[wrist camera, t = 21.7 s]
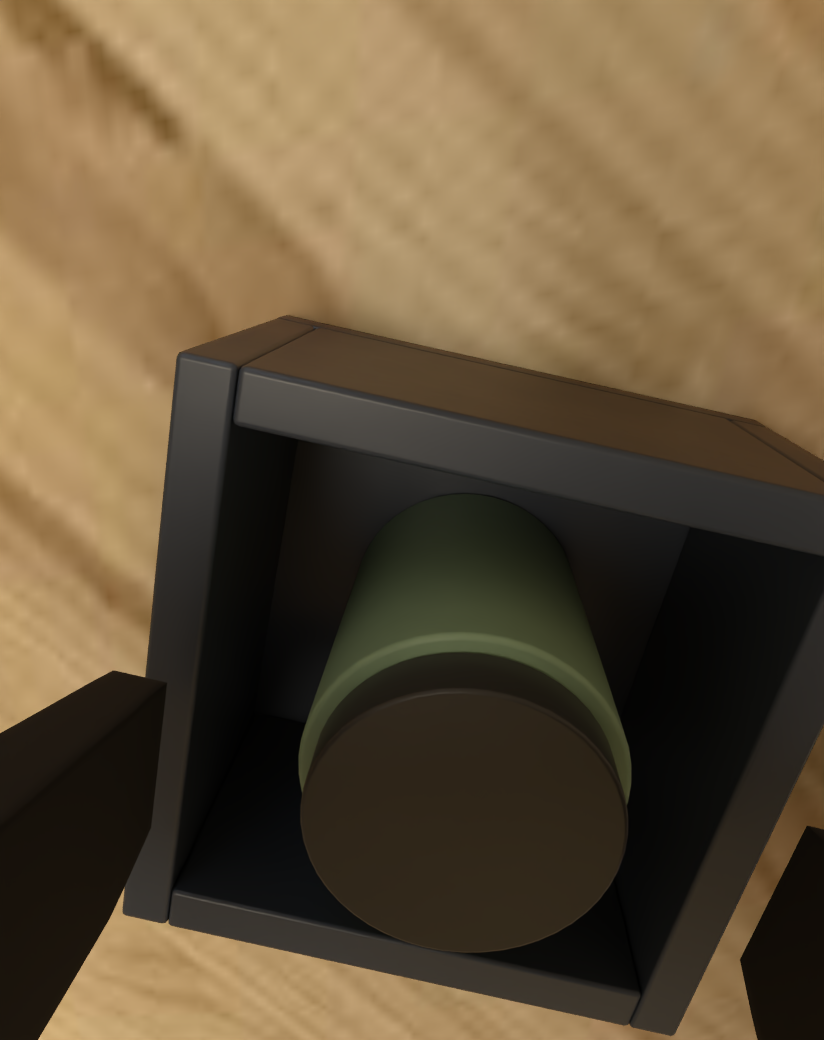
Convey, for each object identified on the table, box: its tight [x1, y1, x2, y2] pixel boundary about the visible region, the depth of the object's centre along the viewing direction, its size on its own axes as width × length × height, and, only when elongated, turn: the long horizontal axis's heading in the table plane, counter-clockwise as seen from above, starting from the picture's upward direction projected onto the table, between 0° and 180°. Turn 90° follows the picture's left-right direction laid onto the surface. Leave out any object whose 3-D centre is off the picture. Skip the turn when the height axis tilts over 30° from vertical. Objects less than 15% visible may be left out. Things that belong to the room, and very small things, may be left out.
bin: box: [123, 315, 824, 1036], centre depth 12 cm, size 8×8×5 cm
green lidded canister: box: [299, 494, 631, 952], centre depth 11 cm, size 4×4×6 cm
